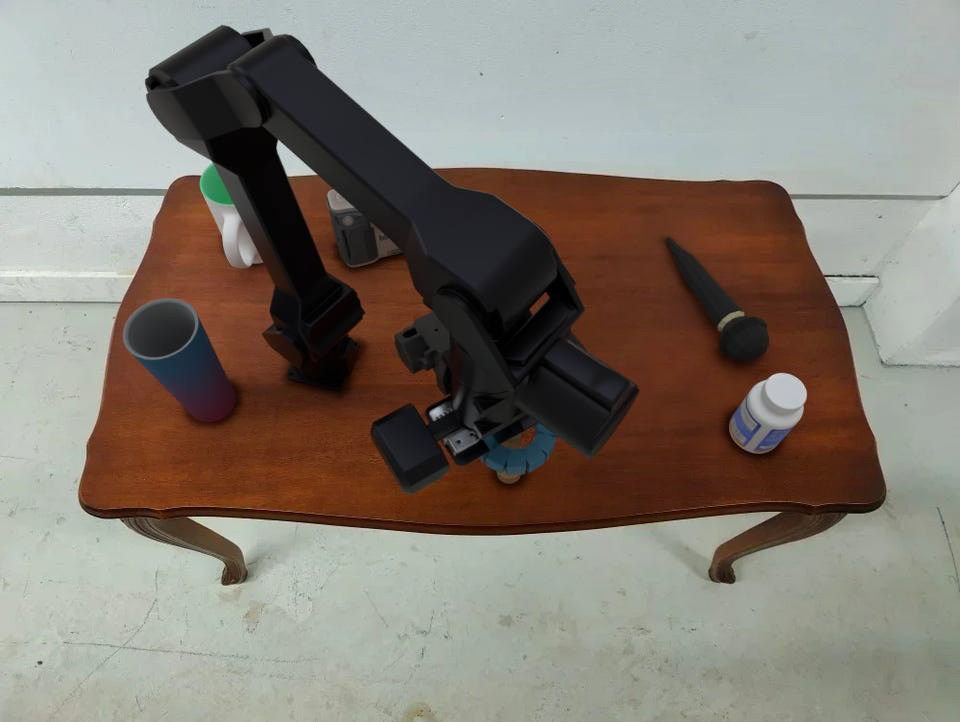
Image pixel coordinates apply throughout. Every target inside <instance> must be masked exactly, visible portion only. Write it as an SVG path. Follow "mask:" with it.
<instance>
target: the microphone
mask: <svg viewBox="0 0 960 722" xmlns="http://www.w3.org/2000/svg"><path fill="white" fill-rule="evenodd" d="M665 241H666V243H667V245H668V247H669V250H670V251H671V253H672V254H673V256H674V257H673V261H674V262H675V265H676V266H675V267H676V268H677V269H678V271H679V272H680V274H681V275H682V277H683V279H684V280H685V281H686V284H687V285H688V286H689V288H690V289H691V291H692V293H693V294H694V296H695V297H696V299H697V300H698V302H699V304H700V305H701V306H702V308H703V310H704V311H705V313H706V315H707V316H708V318H709V319H710V320H711V322H712V324H713V325H714V327H715V328H716V330H717V331H718V332H720V333H719V337H720V339H719V340H718V349H719V351H720V353H721V354H722V355H723V356H727V357H729V358H730V359H732V360H734V361H735V362H738V363H752V362H755V361H757V360H759V359H760V358H762V357H763V356H764V354H765V353H766V352H767V350H768V349H769V346H770V336H769V332H768V323H767V322H766V321H765V320H764V319H763V318H760V317H757V316H749V315H745V311H743V309H742V308H741V307H740V306H739V305H738V304H737V302H736V301H735V300H734V299H733V298H732V297H731V296H730V294H728V292H726V290H725V289H724V288H723V287H722V286H721V285H720V283H718V281H717V280H716V279H715V278H714V277H713V275H711V274H710V273H709V271H708V270H707V269H706V268H705V267H704V266H703V265H702V263H700V261H699V260H698V259H697V257H695V256H694V255H693V254H692V253H691V252H689V251H687V250H686V249H684V248H682V247H681V246H680V245H679V244H678V243H677V241H675V240H674V239H672V237H667V238H666V240H665Z"/></svg>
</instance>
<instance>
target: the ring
mask: <svg viewBox="0 0 960 722" xmlns="http://www.w3.org/2000/svg"><path fill="white" fill-rule="evenodd" d="M532 428H534V435H535V436H534V438H533V439H532V442H530V443H529V444H527V445H525V446H524V447H522V448H520V449H508V448H506V447H504V445H502V444H498V443H497V441H496V440H495V438H494V437H493V435H491V436H489V437H487V438H486V439H484V442H485V443H486V445H487V446H488V448H489V449H490V452H488V453H486V454H485V455H483V456H481V457H479V458H478V459H479V460H480V461H481V463H482V464H483V463H485V466H486V467H488V468H489V469H492V470H494V471H496V473H497V472H499V473H501V474H502V473H503V471H504V470H505V468H506V475H513V474H521V475H525V474H526V471H527V473H531V472H533V471H534V470H536V469H538V468H539V467H541V466H543V465H545V462H547V461H548V460H549V457H550V456H551V454H552V452H553V451H554V448H555V446H556V442H557V438H558V436H556V435H555V434H553V433H552V432H551V431H549V430H548V429H546V428H545V427H544V426H542V425H541V424H540V423H538V424H536V425H535V426H533V427H532Z"/></svg>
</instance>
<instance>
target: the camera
mask: <svg viewBox="0 0 960 722" xmlns="http://www.w3.org/2000/svg"><path fill="white" fill-rule="evenodd" d="M326 193H327V194H326V196H325V202H326V206H327V209H328V213H329V217H330V221H331V225H332V229H333V236H334V239H335V242H336V246H337V249H338V251H339V255H340V258H341V260H342V261H343V262H344V264H345V265H347V266H348V267H349V268H351V269H355V268H360V267H364V266H367V265H371V264H374V263H375V262H377V261H378V260H379V259H381V258H385V257H390V256H393V255H398V254H404V253H403V252H402V251H401V250H400V249H399V248H398V247H397V246H396V245H395V244H394V243H393V242H392V241H391V240H390V239H389V238H388V237H387V236H386V235H385V234H383V233H382V232H381V231H380V230H379V229H378V228H377V227H376V226H374V225H373V224H372V223H371V222H370V221H369V220H368V219H367V218H365V217H364V216H363V215H362V214H361V213H360V212H359V211H358V210H357V209H355V208H354V207H353V206H352V205H351V204H350V203H349V202H348V201H346V200H345V199H344V198H343V197H342V196H341V195H340V194H339V193H337V192H336V191H335V190H334V189H333V188H332V189H331V190H329V191H327V192H326Z"/></svg>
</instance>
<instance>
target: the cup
mask: <svg viewBox="0 0 960 722" xmlns="http://www.w3.org/2000/svg"><path fill="white" fill-rule="evenodd" d="M122 342H123V344H124V346H125V349H126V350H127V351H128V352H129V353H130V354H131V355H132V356H133V357H134V358H135V359H136V360H137V361H138V362H139V363H140V365H142V366H143V368H144V369H146V370H147V371H148V372H149V373H150V374H151V375H152V376H153V377H154V378H155V380H157V382H159V384H161V385H162V386H163V388H164V389H165V390H167V391H168V393H170V395H171V396H172V397H174V399H175V400H177V402H179V404H180V405H181V406H182V407H183V408H184V409H185V410H186V411H187V412H188V413H189V414H190V415H191V416H192V417H193V418H195V420H197V421H199V422H202V423H216V422H219V421H220V420H222V419H224V418H226V417H227V416H228V415H229V414H230V413H231V412H232V411H233V409H234V407H235V405H236V400H237V399H236V398H237V396H236V393H235V390H234V388H233V386H232V384H231V382H230V380H229V377H228V375H227V374H226V371H225V369H224V367H223V366H222V363H221V361H220V358H219V357H218V354H217V352H216V350H215V349H214V346H213V343H212V342H211V340H210V337H209V336H208V334H207V332H206V328H205V327H204V325H203V323H202V321H201V319H200V316H199V315H198V312H197V310H196V309H195V307H193V306H192V304H190V303H189V302H187V301H185V300H183V299H179V298H176V297H175V298H173V297H164V298H157V299H154V300H151V301H149V302H146V303H145V304H143V305H142V306H139V307H138V308H137V309H135V311H134V312H133V313H132V314H130V316H129V317H128V319H127V320H126V322H125V324H124V327H123V330H122Z"/></svg>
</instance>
